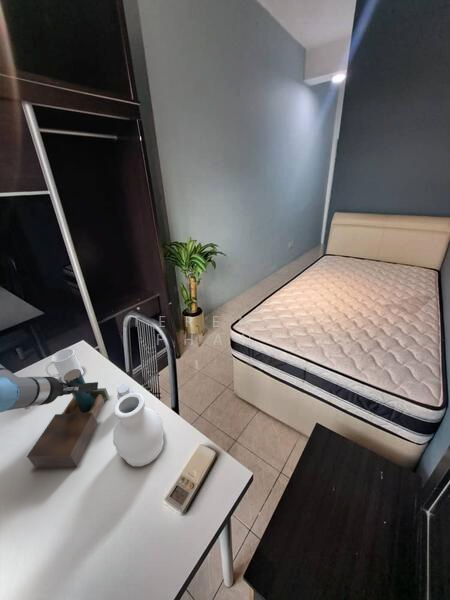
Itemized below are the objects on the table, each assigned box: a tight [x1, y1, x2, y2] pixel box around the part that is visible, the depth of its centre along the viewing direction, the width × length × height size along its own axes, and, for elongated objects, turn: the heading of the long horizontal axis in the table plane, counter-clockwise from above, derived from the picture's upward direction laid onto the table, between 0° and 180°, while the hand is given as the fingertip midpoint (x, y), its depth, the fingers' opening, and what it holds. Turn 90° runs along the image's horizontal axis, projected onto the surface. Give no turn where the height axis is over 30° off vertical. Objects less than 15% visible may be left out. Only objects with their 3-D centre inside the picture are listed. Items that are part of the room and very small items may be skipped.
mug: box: [45, 348, 84, 383], centre depth 103 cm, size 12×8×12 cm
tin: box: [64, 369, 95, 412], centre depth 86 cm, size 5×5×16 cm
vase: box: [112, 392, 165, 467], centre depth 73 cm, size 14×14×20 cm
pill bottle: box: [116, 383, 134, 401], centre depth 89 cm, size 5×5×9 cm
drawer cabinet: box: [26, 413, 99, 469], centre depth 77 cm, size 14×13×7 cm
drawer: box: [61, 387, 110, 420], centre depth 88 cm, size 14×11×5 cm
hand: (86, 386), depth 89 cm, fingers open, 7 cm apart
